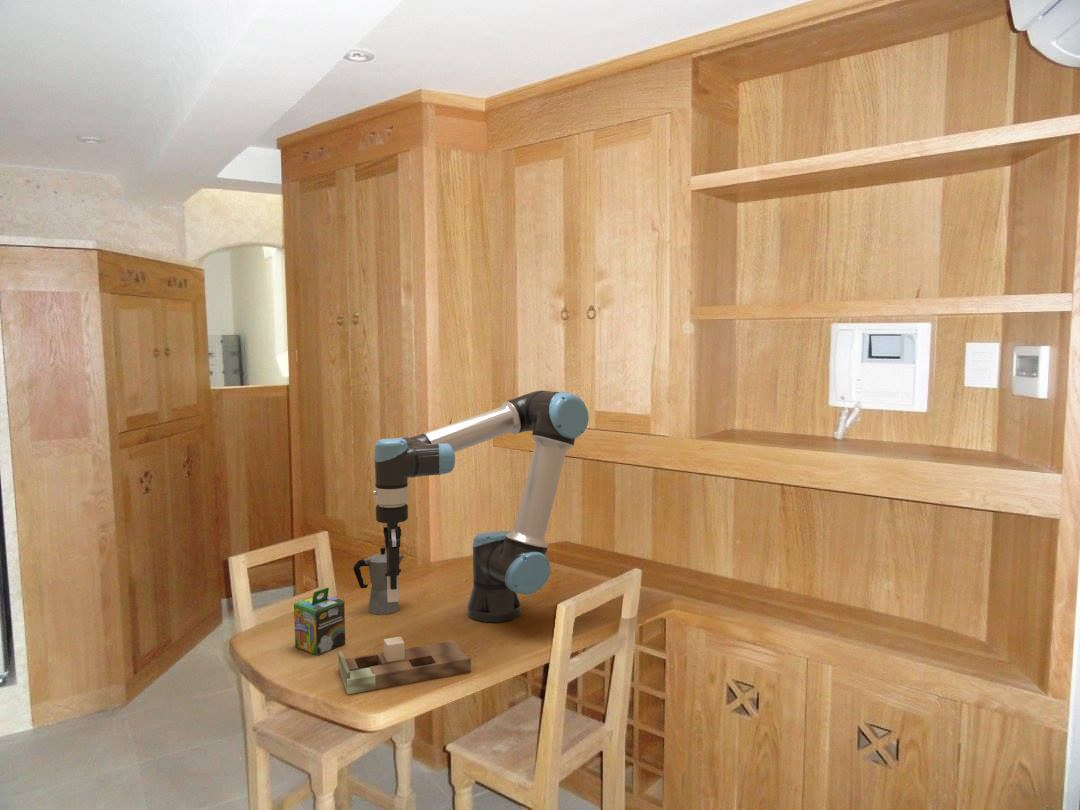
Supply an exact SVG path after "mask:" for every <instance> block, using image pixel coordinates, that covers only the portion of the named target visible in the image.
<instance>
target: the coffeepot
mask: <svg viewBox="0 0 1080 810" xmlns="http://www.w3.org/2000/svg"><path fill="white" fill-rule="evenodd" d="M404 558H405V555H403V554H400V553H399V565H400V564H401V563H402V561H403V559H404ZM386 565H387V556H386V547H380V553H377V554H376V553H375V554H373V555H370V556H367V558H363V559H358V560H357V562H356V563H355V564H354V566H353V568H352V569H353V572H354V574H355V578H356V580H357V583H358V585H359V588H360V589H366V588H368V586H369V584H366V583H365V584H364V578H363V576H362V570H361V567H368V571H369V579H370V583H371V587H370V593H369V602H368V613H369V614H372V615H377V616H386V615H391V614H395V613H397V612H398V611H399V610H400V604H399V602H388V600H387V576H386V577H385V573H387V567H386Z"/></svg>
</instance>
